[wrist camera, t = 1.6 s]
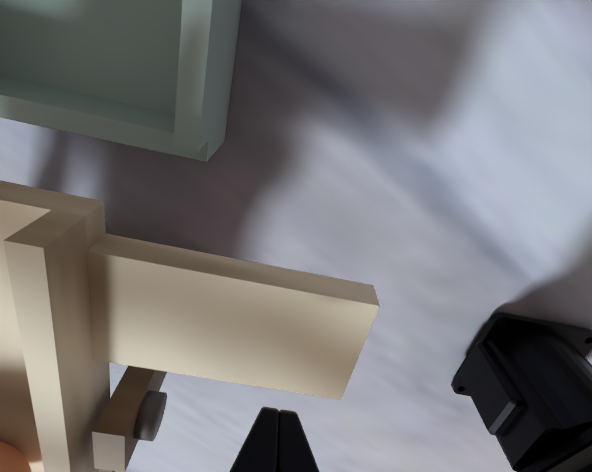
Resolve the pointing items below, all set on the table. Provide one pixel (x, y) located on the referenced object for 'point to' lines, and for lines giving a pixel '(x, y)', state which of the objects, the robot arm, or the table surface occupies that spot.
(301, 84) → the table surface
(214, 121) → the bin
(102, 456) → the lever stand
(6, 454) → the ball
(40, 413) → the tipping lever
